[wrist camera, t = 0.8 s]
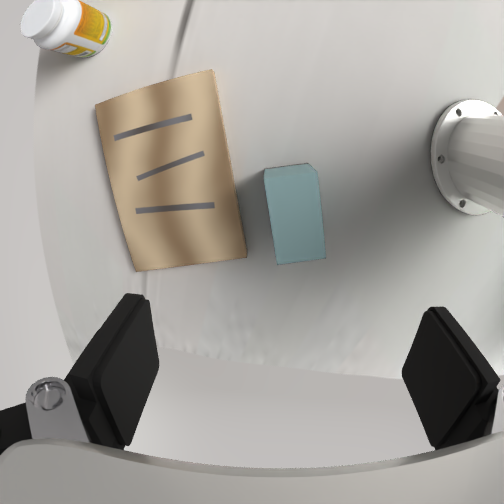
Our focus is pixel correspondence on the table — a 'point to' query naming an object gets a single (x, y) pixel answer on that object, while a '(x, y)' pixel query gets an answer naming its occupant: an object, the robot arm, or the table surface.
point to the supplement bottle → (67, 27)
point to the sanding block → (295, 213)
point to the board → (172, 173)
